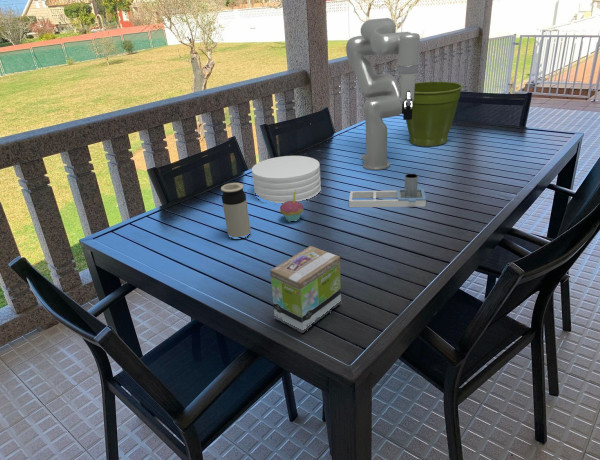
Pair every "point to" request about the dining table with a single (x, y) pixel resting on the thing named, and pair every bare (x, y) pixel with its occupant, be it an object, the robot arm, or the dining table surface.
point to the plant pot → (433, 112)
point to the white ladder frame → (387, 203)
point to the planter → (411, 185)
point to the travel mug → (235, 210)
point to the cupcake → (291, 209)
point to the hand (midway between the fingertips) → (406, 116)
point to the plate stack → (287, 178)
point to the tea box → (306, 286)
